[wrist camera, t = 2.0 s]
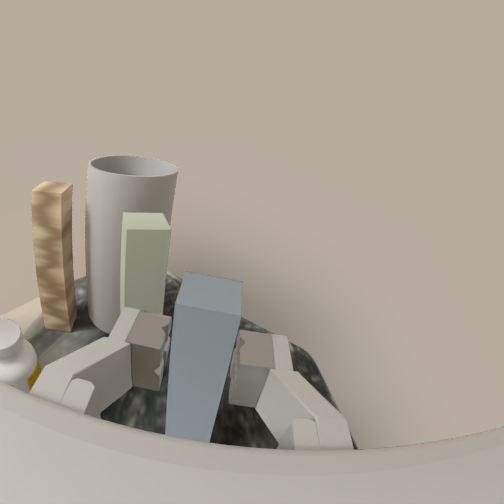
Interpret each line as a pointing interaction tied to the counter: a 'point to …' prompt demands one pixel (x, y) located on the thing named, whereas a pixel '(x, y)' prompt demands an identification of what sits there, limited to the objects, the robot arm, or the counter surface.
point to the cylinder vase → (118, 222)
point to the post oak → (54, 253)
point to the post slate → (201, 353)
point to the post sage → (144, 261)
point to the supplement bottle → (17, 357)
